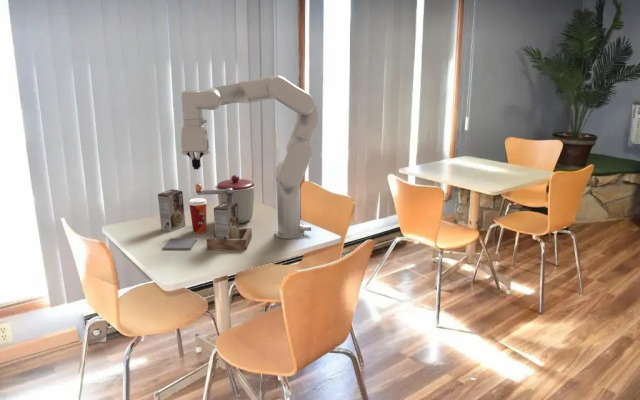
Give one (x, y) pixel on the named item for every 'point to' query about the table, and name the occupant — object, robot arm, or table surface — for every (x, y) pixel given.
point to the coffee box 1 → (171, 210)
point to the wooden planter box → (231, 243)
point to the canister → (239, 196)
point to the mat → (180, 244)
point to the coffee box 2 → (226, 221)
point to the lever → (212, 191)
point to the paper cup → (198, 214)
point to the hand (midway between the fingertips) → (196, 168)
